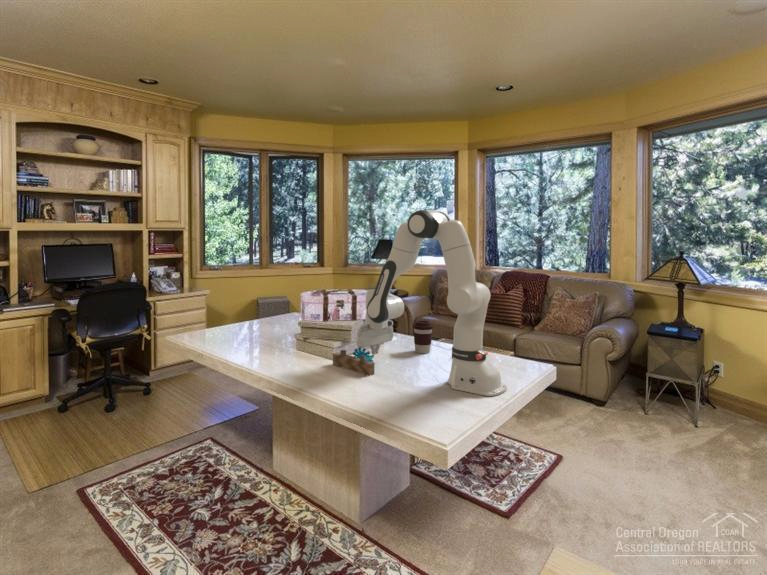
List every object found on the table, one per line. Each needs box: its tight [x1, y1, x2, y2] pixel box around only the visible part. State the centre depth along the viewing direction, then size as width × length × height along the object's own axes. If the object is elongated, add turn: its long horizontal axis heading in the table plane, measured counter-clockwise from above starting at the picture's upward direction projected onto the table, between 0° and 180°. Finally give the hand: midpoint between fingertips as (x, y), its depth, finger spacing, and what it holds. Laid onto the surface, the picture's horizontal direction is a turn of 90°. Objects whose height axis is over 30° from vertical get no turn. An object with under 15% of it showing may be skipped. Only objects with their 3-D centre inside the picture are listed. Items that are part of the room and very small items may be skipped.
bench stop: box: [332, 349, 375, 377], centre depth 189 cm, size 22×3×7 cm, turn 48°
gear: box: [352, 347, 375, 362], centre depth 195 cm, size 11×6×10 cm
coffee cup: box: [412, 320, 434, 355], centre depth 218 cm, size 10×10×15 cm
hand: (375, 353), depth 199 cm, fingers closed
